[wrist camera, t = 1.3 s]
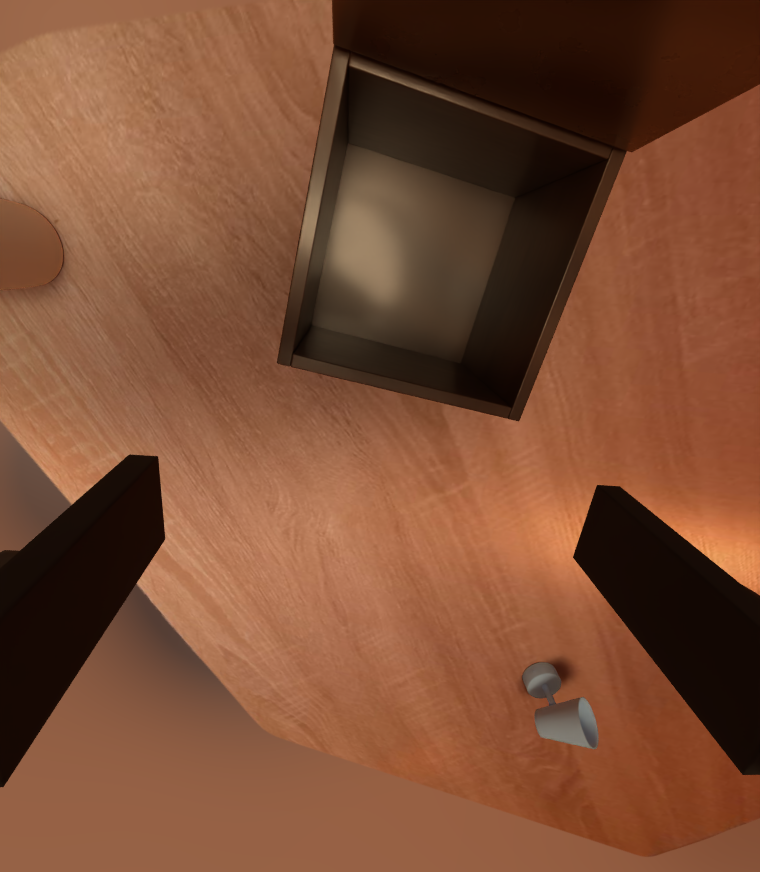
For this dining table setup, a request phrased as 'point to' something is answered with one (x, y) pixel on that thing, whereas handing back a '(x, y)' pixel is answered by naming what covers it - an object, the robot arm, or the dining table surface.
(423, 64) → the lid
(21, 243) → the mug
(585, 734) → the spotlight
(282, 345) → the chest
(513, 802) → the dining table surface
